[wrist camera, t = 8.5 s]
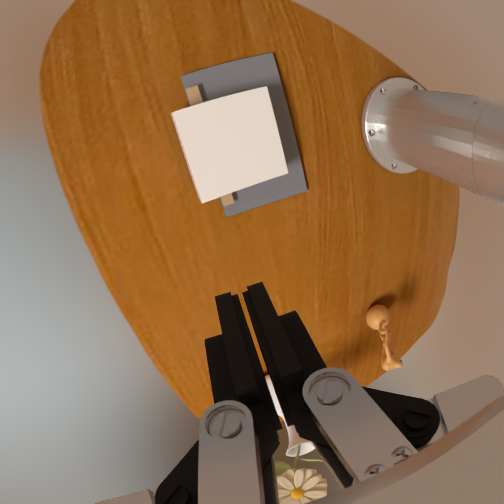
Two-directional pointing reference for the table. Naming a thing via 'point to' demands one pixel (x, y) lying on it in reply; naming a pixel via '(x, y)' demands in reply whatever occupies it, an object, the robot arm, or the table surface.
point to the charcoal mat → (266, 74)
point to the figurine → (378, 321)
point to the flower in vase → (290, 479)
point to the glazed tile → (230, 143)
